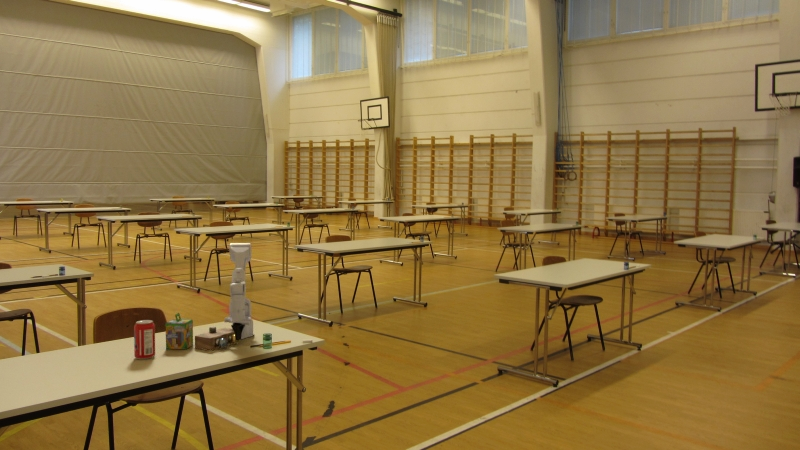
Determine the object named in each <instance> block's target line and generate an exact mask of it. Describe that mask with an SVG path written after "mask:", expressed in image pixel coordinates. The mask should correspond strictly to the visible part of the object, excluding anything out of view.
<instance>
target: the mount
mask: <svg viewBox="0 0 800 450" xmlns="http://www.w3.org/2000/svg"><path fill="white" fill-rule="evenodd" d="M233 334H235V333H234V330H233V329H232V328H228V327H223V328H219V329H216V332H215V333H209V331H207V332H204V333H200V334H196V335H194V348H195V349H197V348H199V349H198V350H204V351H214V350H217V349H221V348H222V347H219V346H218V345H215V339H216V338H217V339H220V338H225V339H227V340H228V335H233ZM240 342H241V340H240V341H239V343H240ZM234 344H235V343H232V342H231V341H228V344H227V346H226V347H228V346H231V345H234Z"/></svg>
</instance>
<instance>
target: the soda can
mask: <svg viewBox="0 0 800 450" xmlns="http://www.w3.org/2000/svg"><path fill="white" fill-rule="evenodd" d="M133 338H134V339H133V341H134V342H133V345H134V350H133V351H134V352H133V353H134V358H135V359H138V360H141V361H142V360H149V359H153V357H155V356H156V324H155V323H154V320H151V319H142V320H138V321H136V322H135V324H134V326H133Z"/></svg>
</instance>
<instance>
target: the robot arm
mask: <svg viewBox="0 0 800 450" xmlns="http://www.w3.org/2000/svg"><path fill="white" fill-rule="evenodd" d="M228 249H229V256H230V261H231V262H233V263H234V269H233V270H232V273H231V274H232V275H231V283H230V284H229V294H230V301H229V305H228V313H229V314H228V315H229V316H227V317H224V318H223V319H224V320H223V321H224V323H229V324H230V323H231V325H230V327H231V329H233V330H234V333H235V339H236V340H240V341H241V340H243V339H247V338H251V337H253V335H254V336H255V334H254V321H253V318H252V317H251V316H252V301H251V300H250V299H249V298H247V297H246V293H247V292H246V291H247V288H246V286H247V285H246V268H247V264H248V263H249V262H251V259H252V243H250V242H246V243H244V242H241V243H239V242H235V243H234V242H231V243H230V244H229V247H228Z"/></svg>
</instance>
